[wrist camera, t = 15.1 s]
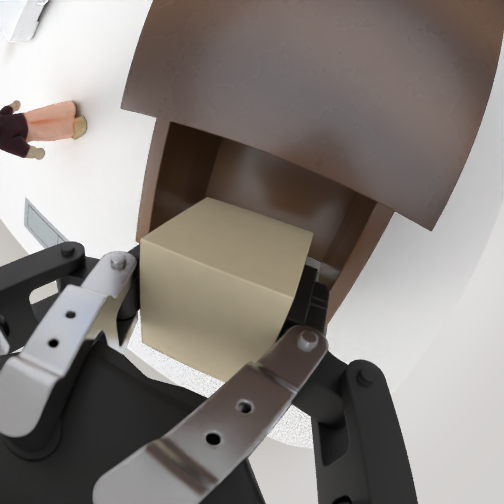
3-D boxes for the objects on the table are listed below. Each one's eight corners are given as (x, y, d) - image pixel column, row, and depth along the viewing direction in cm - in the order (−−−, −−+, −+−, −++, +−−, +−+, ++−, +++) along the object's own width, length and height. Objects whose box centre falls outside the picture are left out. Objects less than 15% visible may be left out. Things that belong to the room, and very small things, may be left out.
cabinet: (390, 180, 17) (431, 232, 9) (213, 108, 18) (119, 108, 10) (451, 8, 9) (507, -47, 1) (275, -52, 11) (227, -124, 3)
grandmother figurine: (98, 120, 21) (-25, 147, 10) (84, 152, 23) (-28, 191, 12) (62, 85, 21) (-42, 101, 10) (51, 115, 22) (-47, 139, 12)
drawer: (303, 329, 23) (282, 404, 16) (175, 269, 24) (120, 322, 17) (410, 118, 14) (457, 117, 7) (234, 53, 15) (169, 21, 9)
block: (313, 232, 11) (293, 298, 7) (281, 318, 13) (252, 393, 9) (207, 196, 11) (139, 238, 8) (193, 283, 14) (141, 342, 10)
